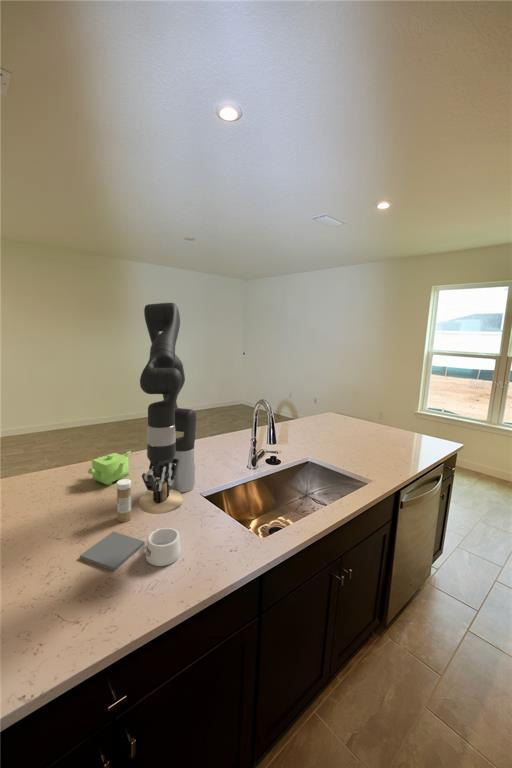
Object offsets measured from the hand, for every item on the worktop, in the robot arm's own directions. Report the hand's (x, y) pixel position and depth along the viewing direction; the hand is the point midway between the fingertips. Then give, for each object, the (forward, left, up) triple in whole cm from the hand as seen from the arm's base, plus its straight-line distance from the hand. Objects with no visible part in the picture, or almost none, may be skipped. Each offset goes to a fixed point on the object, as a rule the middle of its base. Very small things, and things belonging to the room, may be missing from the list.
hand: (161, 499), depth 89 cm
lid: (0, 0, -1) cm, 1 cm away
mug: (0, 0, -17) cm, 17 cm away
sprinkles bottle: (-9, -22, -17) cm, 29 cm away
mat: (+5, -13, -17) cm, 22 cm away
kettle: (-29, -47, -17) cm, 58 cm away
